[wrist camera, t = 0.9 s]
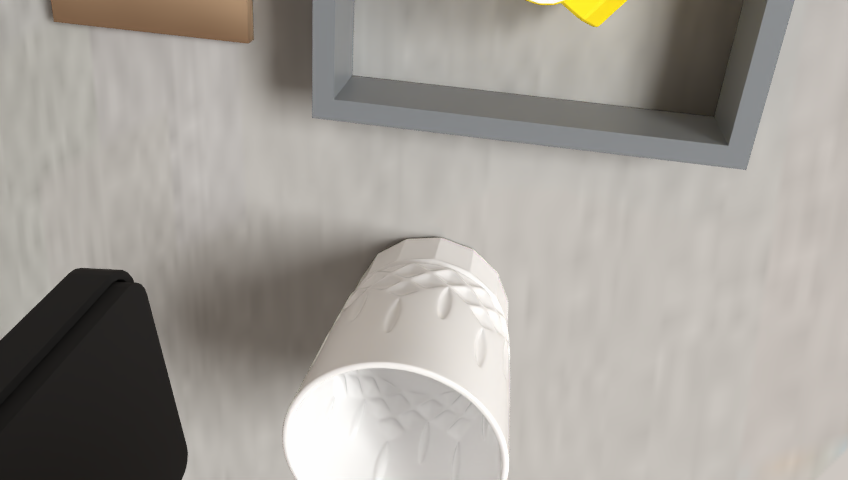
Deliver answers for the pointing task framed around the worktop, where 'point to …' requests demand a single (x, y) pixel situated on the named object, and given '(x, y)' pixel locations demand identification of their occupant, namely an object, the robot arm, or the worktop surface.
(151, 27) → the board
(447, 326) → the white cup
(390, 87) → the bin
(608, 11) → the watch
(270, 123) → the worktop surface
